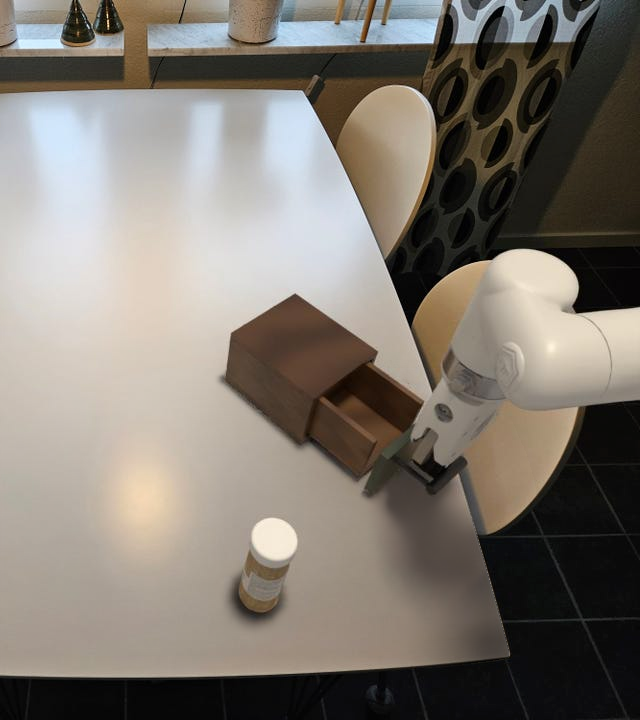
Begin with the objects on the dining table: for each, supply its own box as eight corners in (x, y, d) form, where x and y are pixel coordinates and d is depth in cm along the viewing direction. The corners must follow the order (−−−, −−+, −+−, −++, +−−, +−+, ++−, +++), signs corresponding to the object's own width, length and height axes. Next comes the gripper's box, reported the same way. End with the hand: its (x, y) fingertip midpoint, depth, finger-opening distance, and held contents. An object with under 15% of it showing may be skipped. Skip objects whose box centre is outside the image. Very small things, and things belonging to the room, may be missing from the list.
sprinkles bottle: (246, 567, 74) (261, 508, 64) (284, 585, 73) (305, 527, 63) (231, 602, 71) (243, 547, 61) (270, 621, 70) (289, 567, 60)
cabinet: (361, 397, 91) (378, 351, 84) (300, 444, 86) (313, 399, 78) (285, 340, 99) (295, 292, 91) (224, 379, 93) (230, 332, 86)
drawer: (464, 475, 81) (488, 439, 76) (409, 527, 77) (430, 493, 71) (345, 385, 91) (358, 347, 86) (290, 426, 86) (300, 388, 81)
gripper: (475, 426, 59) (415, 525, 72) (558, 351, 65) (489, 454, 79) (407, 378, 63) (362, 480, 76) (491, 312, 69) (436, 416, 83)
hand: (427, 467), depth 78 cm, fingers closed
